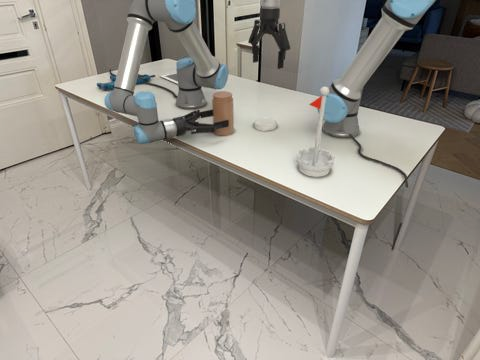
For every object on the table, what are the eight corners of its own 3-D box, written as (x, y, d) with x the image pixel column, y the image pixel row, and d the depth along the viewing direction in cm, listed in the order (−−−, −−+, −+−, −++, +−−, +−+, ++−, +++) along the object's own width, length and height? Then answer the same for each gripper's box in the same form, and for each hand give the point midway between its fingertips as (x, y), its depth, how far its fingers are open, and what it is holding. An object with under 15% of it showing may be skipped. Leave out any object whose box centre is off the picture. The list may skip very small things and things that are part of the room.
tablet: (159, 76, 219) (159, 75, 219) (186, 70, 230) (186, 70, 230) (187, 88, 199) (187, 87, 198) (214, 81, 210) (214, 80, 210)
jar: (221, 137, 145) (220, 99, 135) (209, 130, 150) (207, 93, 141) (237, 131, 149) (237, 94, 140) (225, 125, 155) (224, 89, 146)
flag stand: (319, 157, 130) (331, 78, 113) (339, 173, 119) (355, 90, 103) (289, 163, 126) (296, 83, 109) (307, 181, 115) (318, 95, 99)
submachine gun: (141, 68, 225) (159, 74, 208) (142, 74, 227) (160, 80, 210) (89, 78, 206) (104, 86, 190) (91, 84, 208) (106, 92, 192)
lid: (261, 119, 160) (262, 115, 159) (280, 125, 155) (280, 120, 154) (249, 127, 153) (249, 122, 152) (268, 132, 148) (269, 128, 147)
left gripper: (165, 125, 148) (209, 115, 157) (186, 148, 130) (234, 136, 138) (162, 108, 144) (208, 100, 153) (184, 130, 126) (234, 119, 134)
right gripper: (239, 5, 133) (240, 61, 145) (289, 11, 118) (285, 72, 130) (253, 4, 137) (252, 58, 149) (302, 9, 122) (297, 69, 134)
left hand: (221, 117), depth 145 cm, fingers open, 13 cm apart
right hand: (267, 65), depth 139 cm, fingers open, 13 cm apart
